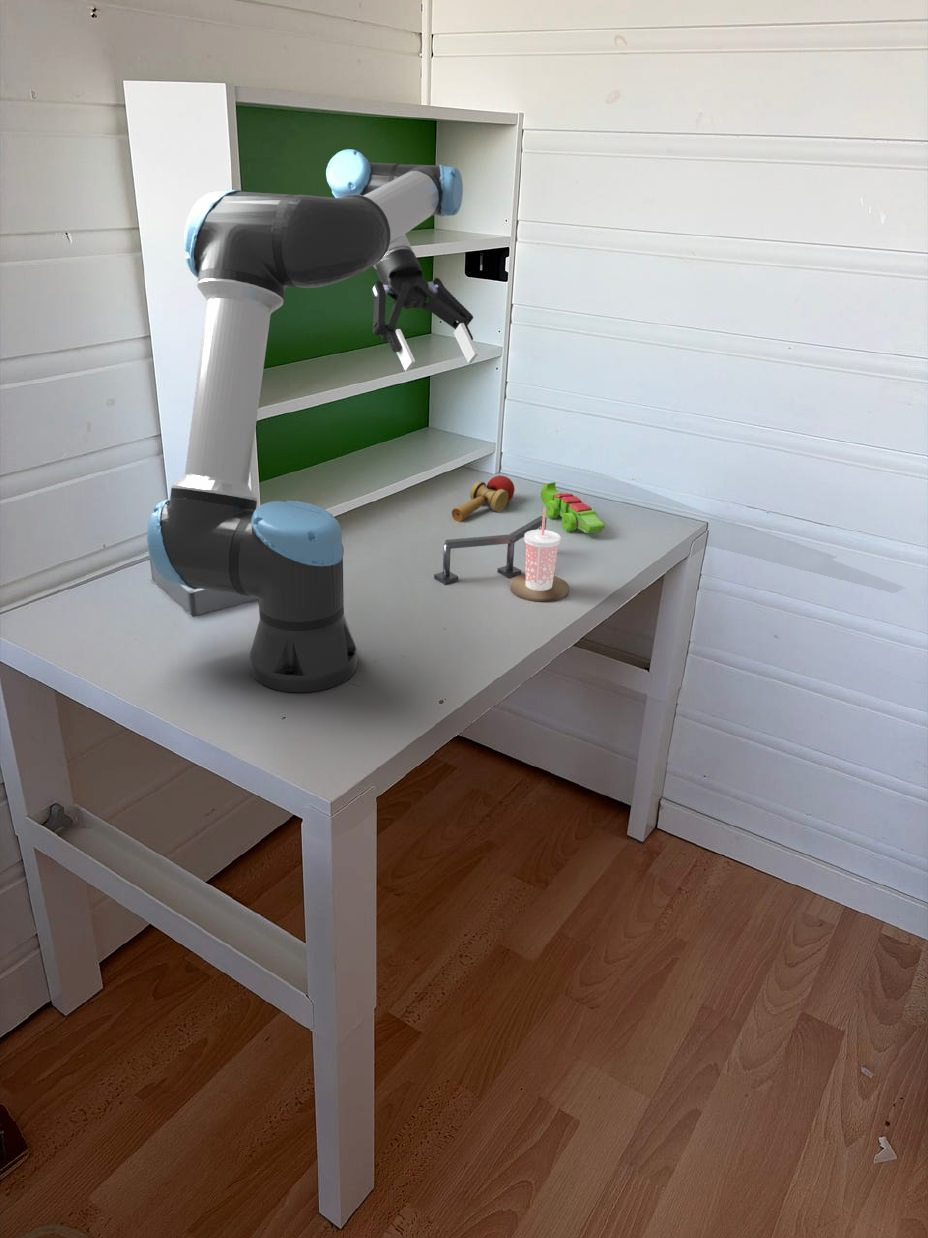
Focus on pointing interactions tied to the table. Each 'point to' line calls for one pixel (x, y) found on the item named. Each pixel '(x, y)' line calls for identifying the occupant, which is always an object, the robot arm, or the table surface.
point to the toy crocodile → (570, 510)
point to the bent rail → (509, 539)
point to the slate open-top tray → (197, 596)
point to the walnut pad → (552, 594)
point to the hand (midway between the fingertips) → (442, 362)
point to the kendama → (486, 497)
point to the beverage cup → (541, 557)
